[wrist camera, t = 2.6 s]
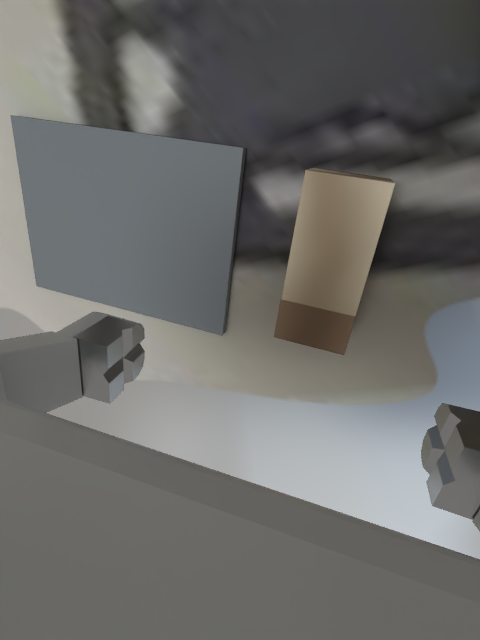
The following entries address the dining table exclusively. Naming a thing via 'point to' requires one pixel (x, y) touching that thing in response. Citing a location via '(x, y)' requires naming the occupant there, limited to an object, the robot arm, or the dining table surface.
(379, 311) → the dining table surface
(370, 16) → the dining table surface
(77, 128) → the mat
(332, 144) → the dining table surface
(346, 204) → the tan rectangular block
